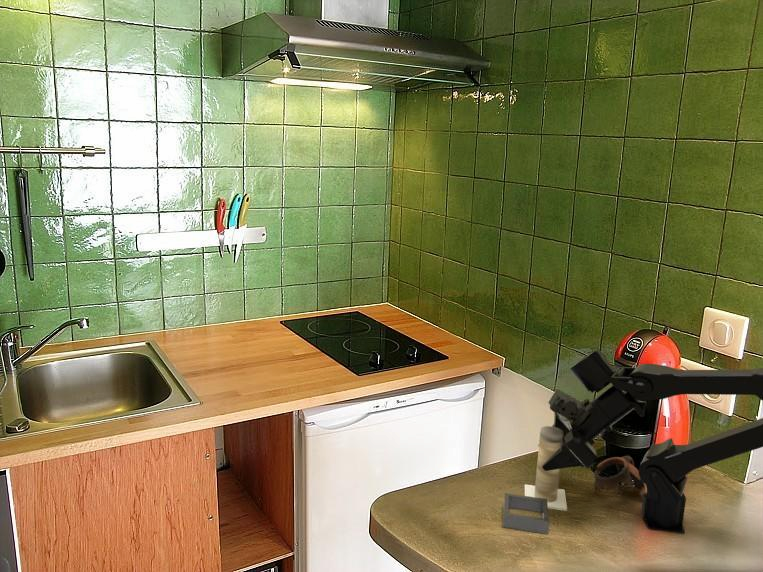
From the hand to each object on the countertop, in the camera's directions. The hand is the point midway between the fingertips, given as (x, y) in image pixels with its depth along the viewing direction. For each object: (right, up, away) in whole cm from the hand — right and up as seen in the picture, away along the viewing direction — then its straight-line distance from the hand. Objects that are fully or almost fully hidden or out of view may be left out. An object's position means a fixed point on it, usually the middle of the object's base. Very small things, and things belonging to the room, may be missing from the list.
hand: (541, 457), depth 124 cm
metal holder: (-5, -10, -6) cm, 13 cm away
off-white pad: (+1, -9, +1) cm, 9 cm away
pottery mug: (+18, -9, +5) cm, 21 cm away
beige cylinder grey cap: (+1, -8, +1) cm, 8 cm away
